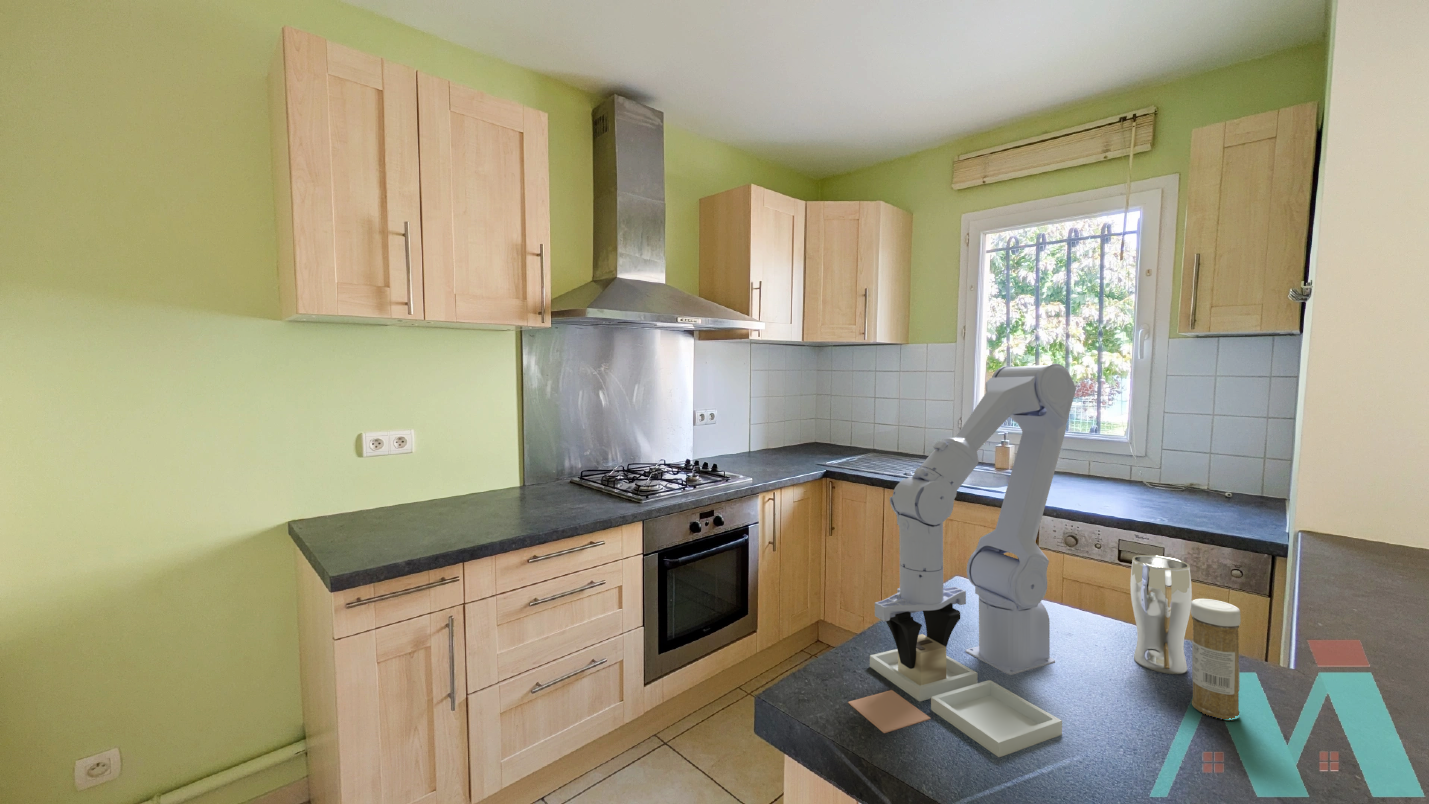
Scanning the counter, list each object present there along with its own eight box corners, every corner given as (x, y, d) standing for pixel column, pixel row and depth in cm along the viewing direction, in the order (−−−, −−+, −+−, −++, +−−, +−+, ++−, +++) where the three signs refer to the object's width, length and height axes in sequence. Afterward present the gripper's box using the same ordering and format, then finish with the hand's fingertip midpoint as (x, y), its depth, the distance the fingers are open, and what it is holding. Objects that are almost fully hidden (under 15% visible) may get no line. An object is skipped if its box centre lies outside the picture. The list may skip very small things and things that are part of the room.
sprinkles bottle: (1245, 714, 69) (1245, 605, 69) (1232, 726, 67) (1233, 614, 66) (1197, 697, 73) (1198, 594, 73) (1184, 708, 71) (1185, 602, 70)
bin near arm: (923, 655, 86) (923, 642, 85) (977, 687, 76) (977, 672, 76) (869, 669, 82) (869, 655, 82) (919, 704, 72) (919, 689, 72)
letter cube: (922, 664, 82) (922, 633, 82) (946, 679, 78) (946, 646, 78) (898, 671, 80) (897, 639, 80) (920, 686, 76) (920, 652, 76)
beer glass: (1138, 671, 80) (1138, 566, 80) (1124, 649, 86) (1124, 552, 86) (1200, 680, 77) (1200, 571, 77) (1180, 657, 84) (1180, 557, 83)
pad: (891, 693, 75) (891, 689, 75) (930, 722, 69) (930, 717, 69) (848, 705, 72) (847, 701, 72) (884, 736, 66) (884, 732, 66)
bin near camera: (989, 694, 74) (989, 679, 74) (1062, 737, 65) (1062, 720, 65) (931, 712, 71) (930, 696, 71) (998, 760, 61) (998, 742, 61)
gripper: (939, 551, 85) (940, 640, 85) (860, 564, 80) (861, 659, 80) (977, 564, 79) (978, 660, 79) (894, 579, 73) (895, 683, 73)
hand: (921, 661), depth 79 cm, fingers closed on letter cube, 4 cm apart
